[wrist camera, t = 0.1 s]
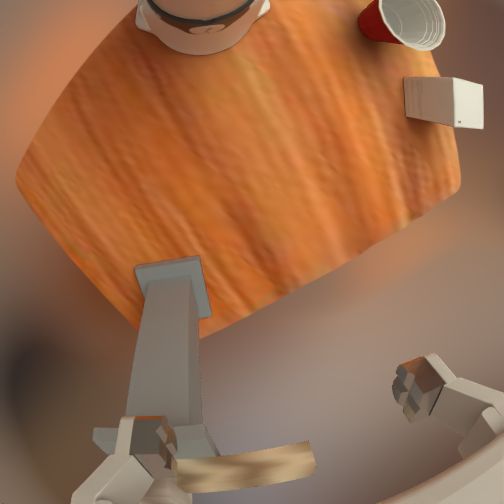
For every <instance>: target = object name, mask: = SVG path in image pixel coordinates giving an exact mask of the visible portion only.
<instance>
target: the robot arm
mask: <svg viewBox="0 0 504 504" xmlns="http://www.w3.org/2000/svg"><path fill="white" fill-rule="evenodd" d="M269 9H270V3H269V0H139V1H138V7H137V13H136V19H135V23H136V26H137V27H138V28H139V29H141V30H144V31H146V32H150V33H153V34H154V35H156V36H157V37H158V38H159V39H160V40H161V41H162V42H163V43H164V44H165V45H167V46H168V47H170V48H171V49H173V50H175V51H178V52H181V53H184V54H190V55H208V54H213V53H217V52H220V51H223V50H225V49H227V48H229V47H231V46H233V45H234V44H236V43H237V42H238V41H239V40H241V39H242V38H243V37H244V35H245V34H246V33H247V32H248V30H249V28H250V27H251V25H252V24H253V22H254V21H255V20H257V19H259V18H260V17H262V16H263V15H265V14H266V13H267V12H268V11H269ZM396 374H397V375H398V376H397V377H396V378H395V380H394V381H393V385H392V390H393V395H394V398H395V400H396V401H397V403H398V404H400V405H403V406H404V408H403V413H404V414H405V416H406V418H407V419H408V421H409V422H410V424H412V423H414V422H417V421H419V420H422V419H424V418H426V417H428V416H429V417H430V418H431V419H433V420H435V421H437V422H438V423H440V424H442V425H444V426H445V427H447V428H449V429H451V430H452V431H454V432H456V433H458V434H460V435H462V436H463V437H465V438H464V440H463V441H462V443H461V444H460V445H459V447H458V450H459V452H460V454H461V455H462V457H463V458H464V460H462V461H461V462H459V463H458V464H456V465H454V466H453V467H451V468H449V469H447V470H446V471H444V472H442V473H440V474H439V475H437V476H435V477H433V478H431V479H429V480H427V481H426V482H423V483H422V484H420V485H418V486H415V487H413V488H411V489H409V490H408V491H405V492H403V493H401V494H398V495H396V496H394V497H391V498H389V499H387V500H385V501H382V502H379V503H377V504H504V393H502V392H499V391H497V390H494V389H491V388H488V387H485V386H483V385H480V384H477V383H474V382H471V381H468V380H466V379H463V378H461V377H459V378H456V377H455V376H454V374H453V373H452V372H451V371H450V370H449V368H448V367H447V366H446V365H445V364H444V363H443V361H442V360H441V359H440V358H439V357H438V356H437V355H436V354H435V353H433V352H432V353H429V354H427V355H424V356H422V357H418V358H416V359H414V360H411V361H409V362H406V363H404V364H401V365H399V366H398V367H397V370H396ZM176 453H177V439H176V435H175V432H174V430H173V428H171V427H169V426H168V420H167V418H166V416H165V415H162V416H123V417H122V418H121V420H120V424H119V429H118V435H117V440H116V446H115V452H114V454H110V455H109V456H108V457H107V459H106V460H105V461H104V462H103V463H102V464H101V465H100V466H99V467H98V468H97V469H96V470H95V471H94V472H93V473H92V474H91V475H90V476H89V477H88V479H87V480H86V481H85V482H84V483H83V484H82V485H81V486H80V487H79V488H78V489H77V490H76V491H75V492H74V493H73V495H72V500H71V504H139V502H140V501H141V499H142V498H143V496H144V495H145V494H146V492H147V490H148V489H149V487H150V486H151V484H152V483H153V481H154V479H157V478H177V461H176V459H175V458H174V455H175V454H176ZM0 504H3V503H1V502H0Z"/></svg>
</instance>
